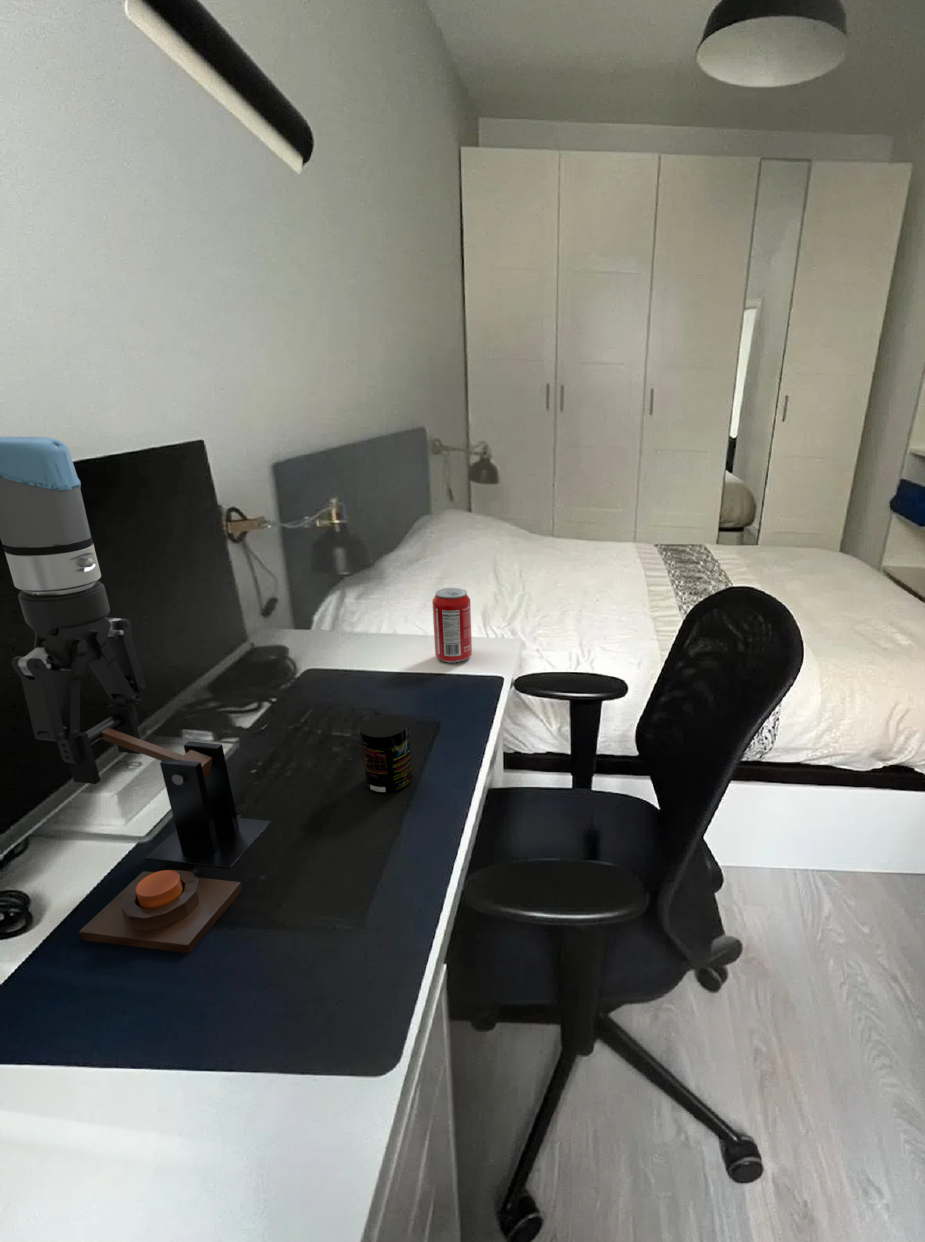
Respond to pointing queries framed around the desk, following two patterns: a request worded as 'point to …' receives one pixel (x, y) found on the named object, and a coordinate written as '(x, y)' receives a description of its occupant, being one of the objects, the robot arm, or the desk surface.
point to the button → (159, 889)
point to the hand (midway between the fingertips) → (110, 765)
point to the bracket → (204, 813)
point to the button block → (163, 915)
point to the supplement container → (386, 753)
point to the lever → (142, 744)
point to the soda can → (452, 625)
